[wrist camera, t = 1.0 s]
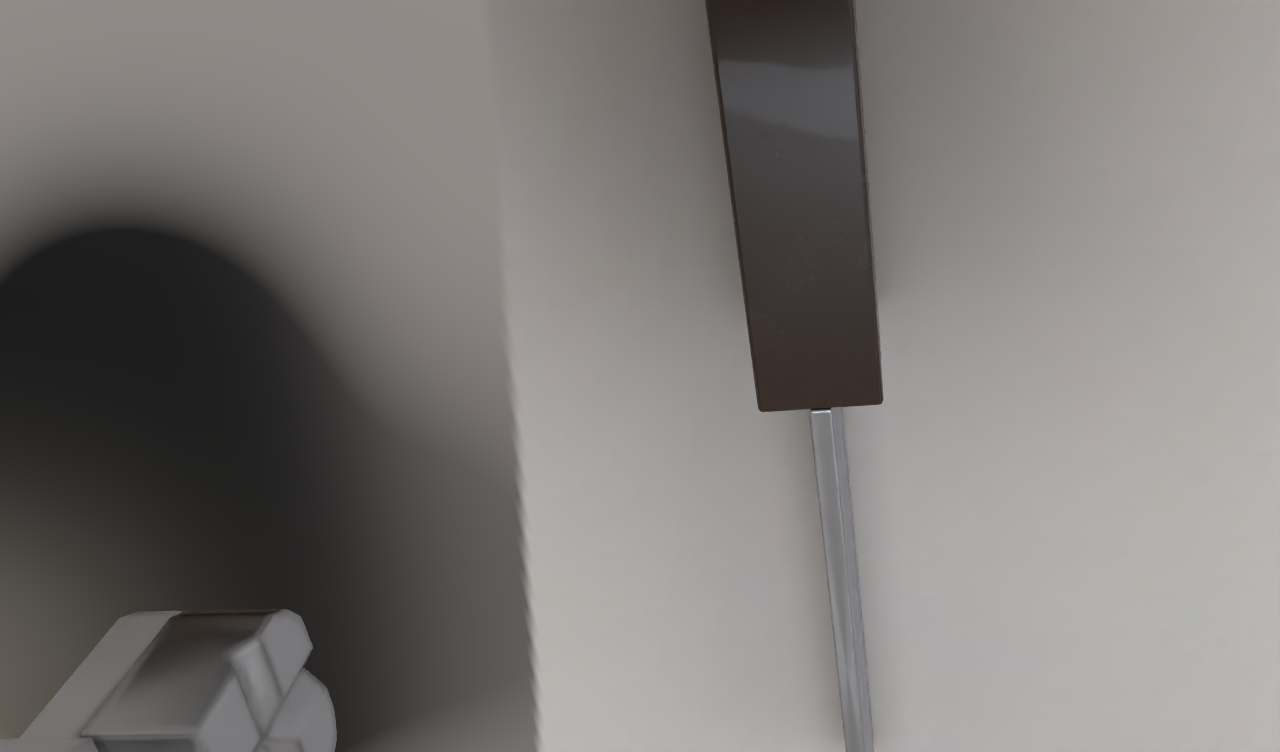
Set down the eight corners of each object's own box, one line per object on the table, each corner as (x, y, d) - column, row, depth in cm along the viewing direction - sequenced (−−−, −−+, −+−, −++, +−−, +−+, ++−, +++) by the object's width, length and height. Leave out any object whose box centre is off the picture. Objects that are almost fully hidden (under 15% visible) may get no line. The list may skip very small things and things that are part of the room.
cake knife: (721, -89, 22) (697, -51, 18) (846, -108, 21) (847, -72, 18) (821, 747, 31) (818, 880, 27) (910, 747, 30) (920, 881, 27)
